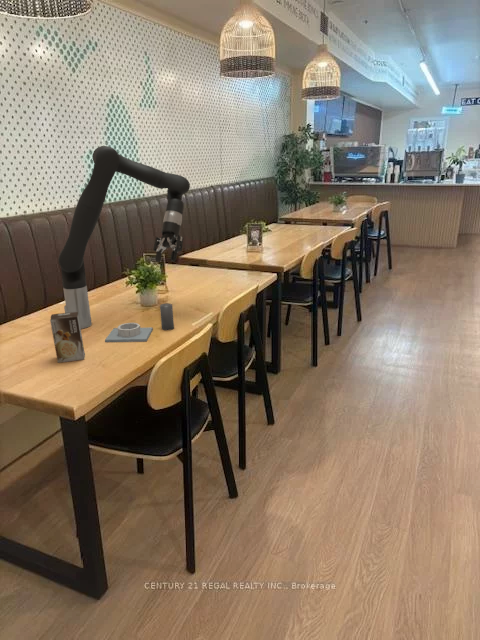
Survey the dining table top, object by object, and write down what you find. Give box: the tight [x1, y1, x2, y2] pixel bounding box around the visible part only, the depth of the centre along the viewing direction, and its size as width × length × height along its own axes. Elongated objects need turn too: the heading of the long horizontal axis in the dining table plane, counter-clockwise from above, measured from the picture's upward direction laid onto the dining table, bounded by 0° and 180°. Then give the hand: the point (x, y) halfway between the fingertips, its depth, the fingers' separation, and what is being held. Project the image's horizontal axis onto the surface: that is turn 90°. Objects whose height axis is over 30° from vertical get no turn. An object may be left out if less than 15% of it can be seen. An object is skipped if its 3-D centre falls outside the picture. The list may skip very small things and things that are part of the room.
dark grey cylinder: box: [159, 302, 175, 331], centre depth 190 cm, size 5×5×10 cm
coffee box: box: [49, 312, 86, 364], centre depth 162 cm, size 9×6×16 cm
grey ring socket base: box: [104, 322, 154, 343], centre depth 183 cm, size 16×13×4 cm
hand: (165, 261), depth 191 cm, fingers open, 8 cm apart
